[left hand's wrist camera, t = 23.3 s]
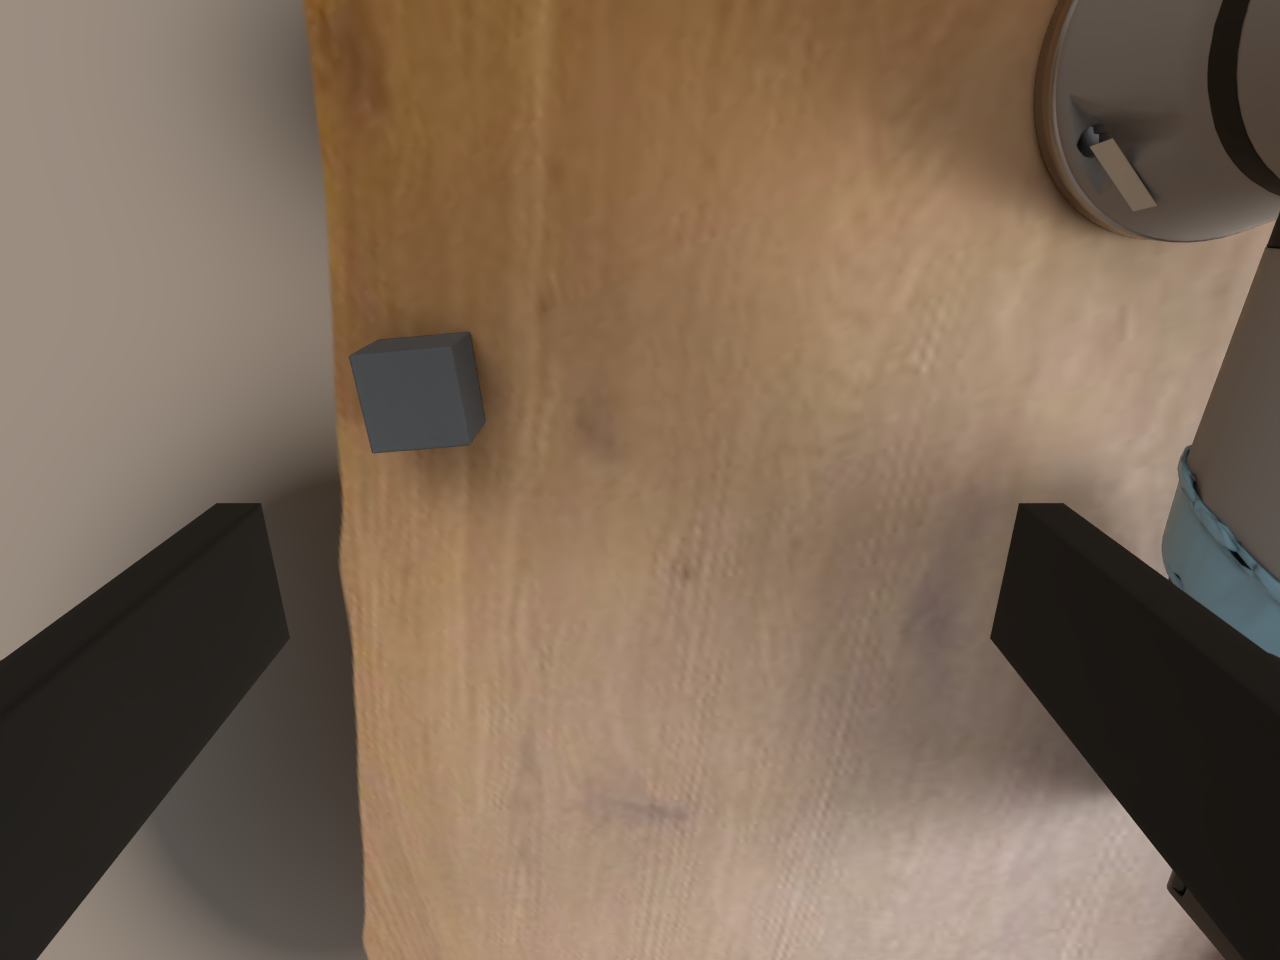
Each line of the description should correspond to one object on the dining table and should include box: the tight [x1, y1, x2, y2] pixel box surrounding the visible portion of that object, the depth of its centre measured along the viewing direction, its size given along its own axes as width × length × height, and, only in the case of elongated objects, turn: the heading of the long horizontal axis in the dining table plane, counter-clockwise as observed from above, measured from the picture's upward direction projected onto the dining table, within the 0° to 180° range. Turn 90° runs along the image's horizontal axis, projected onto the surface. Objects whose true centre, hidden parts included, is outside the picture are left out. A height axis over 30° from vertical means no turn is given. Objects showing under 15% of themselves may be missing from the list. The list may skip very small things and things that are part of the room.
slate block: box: [349, 332, 485, 453], centre depth 37 cm, size 5×5×4 cm
